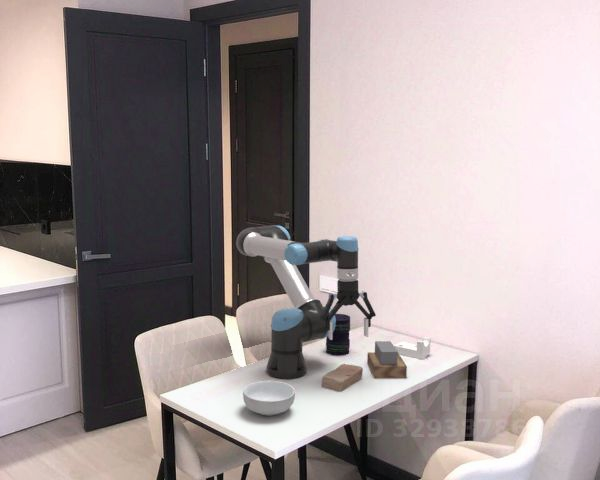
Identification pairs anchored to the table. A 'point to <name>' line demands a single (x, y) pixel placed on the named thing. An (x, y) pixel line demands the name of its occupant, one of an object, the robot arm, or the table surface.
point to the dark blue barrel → (339, 337)
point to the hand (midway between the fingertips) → (348, 337)
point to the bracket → (414, 349)
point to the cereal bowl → (268, 397)
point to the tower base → (386, 367)
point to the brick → (342, 377)
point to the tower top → (386, 353)
